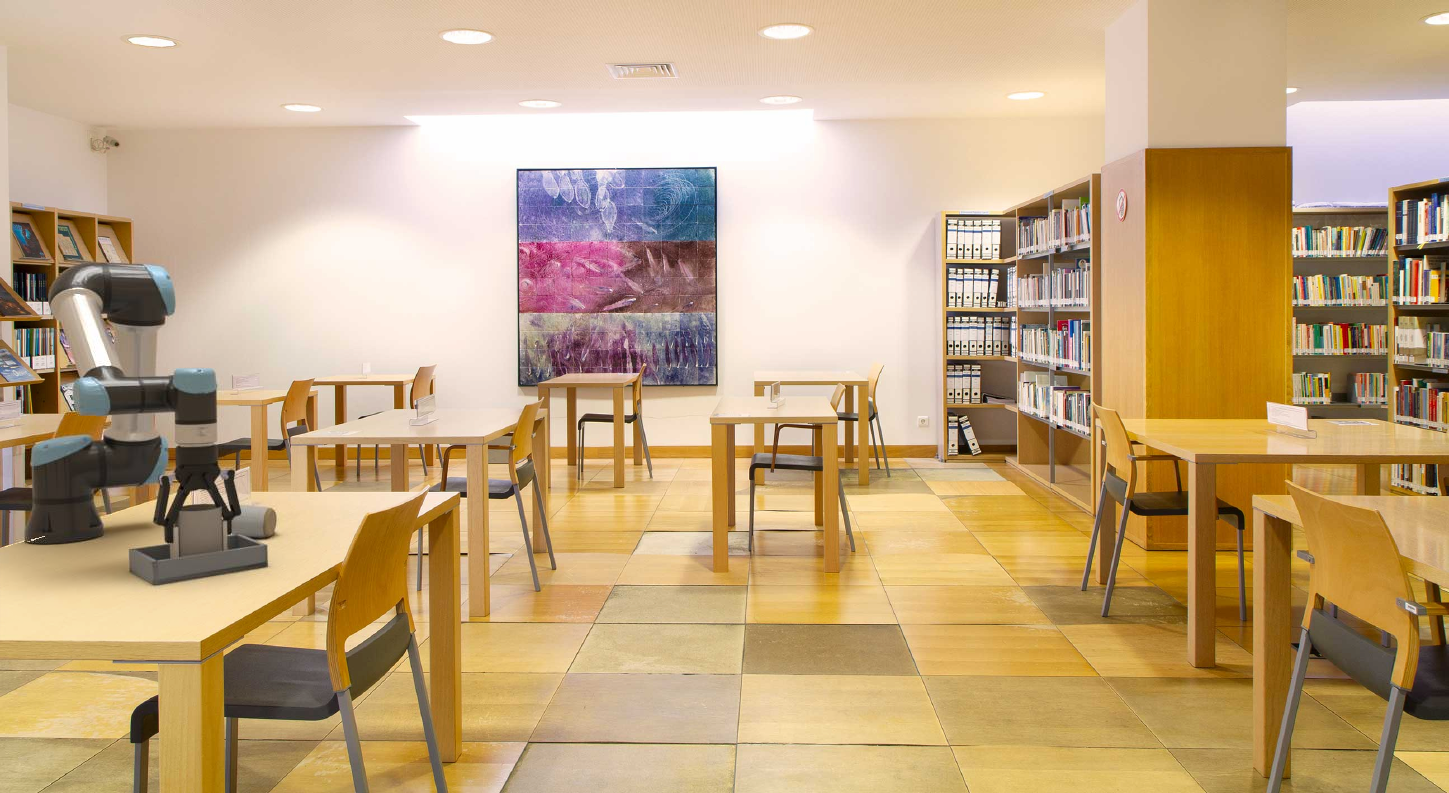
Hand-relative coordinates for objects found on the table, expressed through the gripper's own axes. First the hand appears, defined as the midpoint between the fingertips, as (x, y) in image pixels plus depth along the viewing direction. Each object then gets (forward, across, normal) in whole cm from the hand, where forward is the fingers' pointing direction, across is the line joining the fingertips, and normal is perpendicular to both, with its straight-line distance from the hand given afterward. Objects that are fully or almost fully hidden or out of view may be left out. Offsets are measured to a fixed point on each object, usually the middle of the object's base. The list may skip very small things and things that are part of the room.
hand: (199, 554), depth 193 cm
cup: (+1, 0, 0) cm, 1 cm away
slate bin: (+3, 0, 0) cm, 3 cm away
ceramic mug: (+3, +20, +24) cm, 32 cm away
